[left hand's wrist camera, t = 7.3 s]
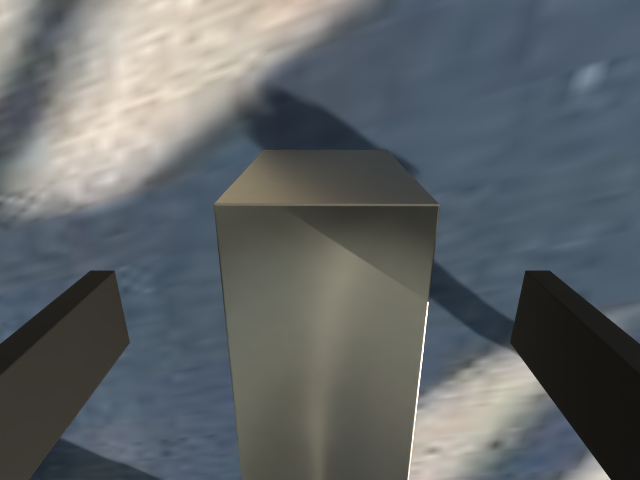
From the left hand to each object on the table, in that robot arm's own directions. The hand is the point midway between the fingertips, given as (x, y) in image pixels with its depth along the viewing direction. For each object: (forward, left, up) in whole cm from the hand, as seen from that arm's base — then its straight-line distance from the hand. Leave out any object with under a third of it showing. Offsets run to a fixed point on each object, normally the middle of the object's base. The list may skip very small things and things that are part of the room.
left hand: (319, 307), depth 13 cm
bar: (+2, +9, -8) cm, 12 cm away
